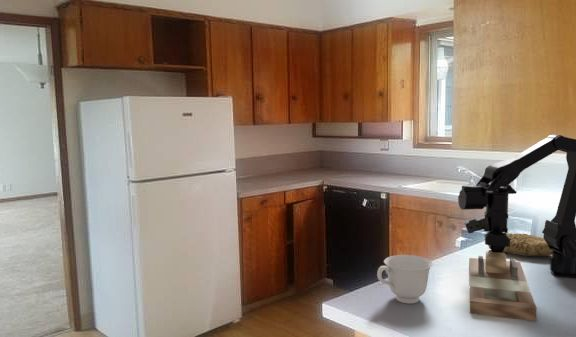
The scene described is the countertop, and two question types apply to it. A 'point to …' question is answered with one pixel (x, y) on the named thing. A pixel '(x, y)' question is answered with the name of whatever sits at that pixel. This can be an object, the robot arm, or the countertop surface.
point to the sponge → (527, 245)
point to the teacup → (406, 276)
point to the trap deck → (500, 291)
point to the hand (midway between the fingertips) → (494, 261)
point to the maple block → (495, 262)
